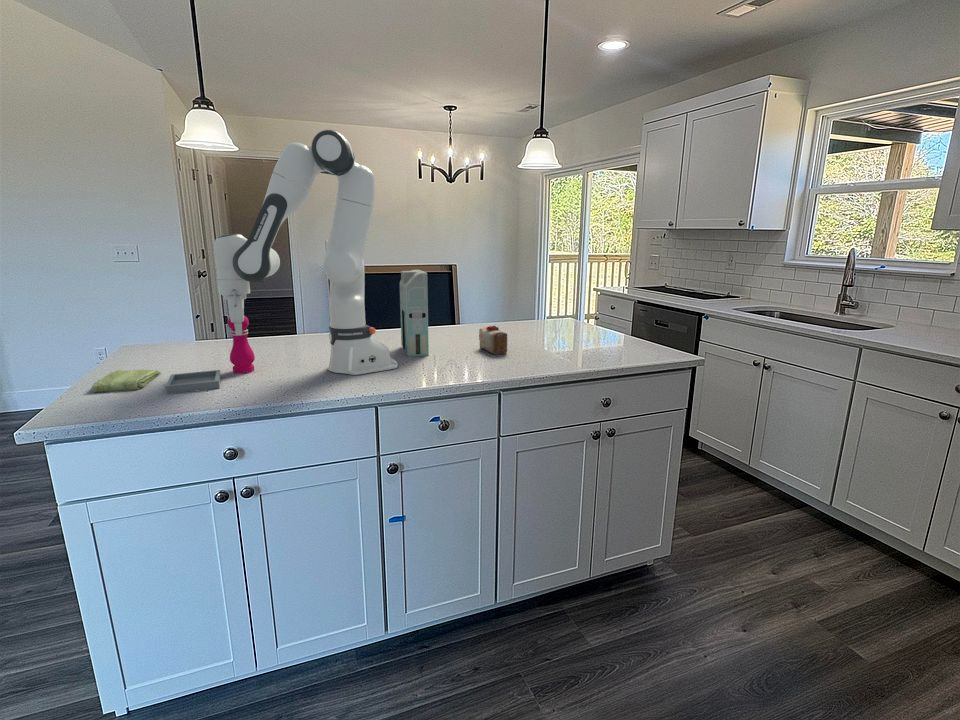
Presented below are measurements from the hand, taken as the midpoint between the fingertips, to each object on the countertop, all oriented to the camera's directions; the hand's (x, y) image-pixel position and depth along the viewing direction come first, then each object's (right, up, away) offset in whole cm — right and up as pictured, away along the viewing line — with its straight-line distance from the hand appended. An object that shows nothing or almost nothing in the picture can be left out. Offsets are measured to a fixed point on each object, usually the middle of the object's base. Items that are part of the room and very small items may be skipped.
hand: (239, 332), depth 156 cm
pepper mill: (0, -13, +3) cm, 13 cm away
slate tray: (-7, -16, -11) cm, 21 cm away
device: (+51, -6, +32) cm, 61 cm away
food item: (+81, -6, +34) cm, 88 cm away
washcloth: (-28, -16, -10) cm, 34 cm away
